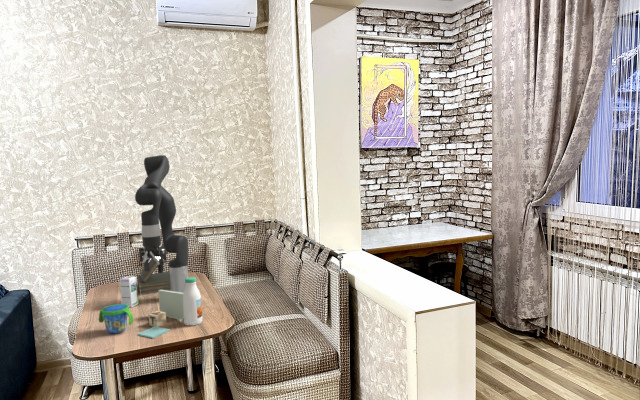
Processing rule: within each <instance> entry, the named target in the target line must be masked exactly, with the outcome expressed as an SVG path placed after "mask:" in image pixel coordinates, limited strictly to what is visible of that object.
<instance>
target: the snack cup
mask: <svg viewBox="0 0 640 400" xmlns="http://www.w3.org/2000/svg"><path fill="white" fill-rule="evenodd" d="M128 318H129V319H128ZM98 322H99V323H103V322H104V326H105V330H106V332H107V334H119V333H122V332H125V331H126V329H127V325H129V326H131V325H133V323H134V317H133V313H132V312H131V309H130V308H129V306H128V305H126V304H122V303H117V304H110V305H107V306H104V307H103V308H101V310H100V311H99V314H98Z"/></svg>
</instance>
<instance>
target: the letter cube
mask: <svg viewBox="0 0 640 400" xmlns="http://www.w3.org/2000/svg"><path fill="white" fill-rule="evenodd" d="M148 322H149V323H148V324H149V325H148V326H151V327H155V326H156V327H162V326H163V325H166V324H167V317H166V312H161V311H160V310H156V311H153V312H151V313H149V314H148Z"/></svg>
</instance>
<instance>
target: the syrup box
mask: <svg viewBox="0 0 640 400" xmlns="http://www.w3.org/2000/svg"><path fill="white" fill-rule="evenodd" d="M119 289H120V290H119V291H120V299H121V301H120V302H121V304H126V305H128V306H129V309H130V308H133V307H135V306H138V305H139V304H140V303H139V290H138V281H137V276H135V275H129V276H128V275H127V276H125V277H121V278H119Z"/></svg>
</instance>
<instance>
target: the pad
mask: <svg viewBox="0 0 640 400" xmlns="http://www.w3.org/2000/svg"><path fill="white" fill-rule="evenodd" d="M170 331H171V328H165V327H162V326H158V327H156V326H151V328H148V329H145V330H143V331H140V332H138V333H137V336H140V337H145V338H149V339H154V338H157V337H159V336H161V335H164V334H166V333H168V332H170Z"/></svg>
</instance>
